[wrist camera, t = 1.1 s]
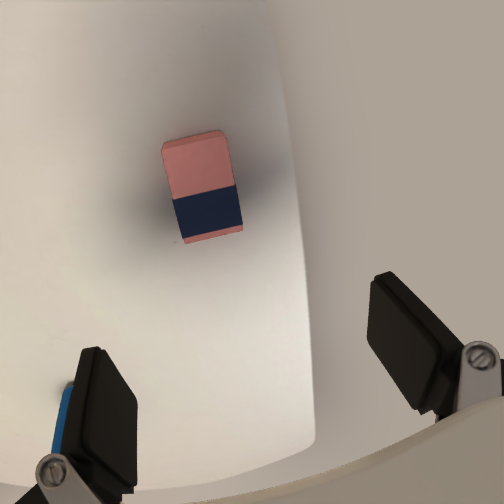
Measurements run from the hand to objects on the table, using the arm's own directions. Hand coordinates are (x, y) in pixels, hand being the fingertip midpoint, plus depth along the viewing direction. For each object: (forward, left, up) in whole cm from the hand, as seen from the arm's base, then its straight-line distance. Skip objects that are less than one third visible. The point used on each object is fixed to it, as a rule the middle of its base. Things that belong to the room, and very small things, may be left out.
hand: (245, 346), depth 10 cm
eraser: (-1, -1, -15) cm, 15 cm away
